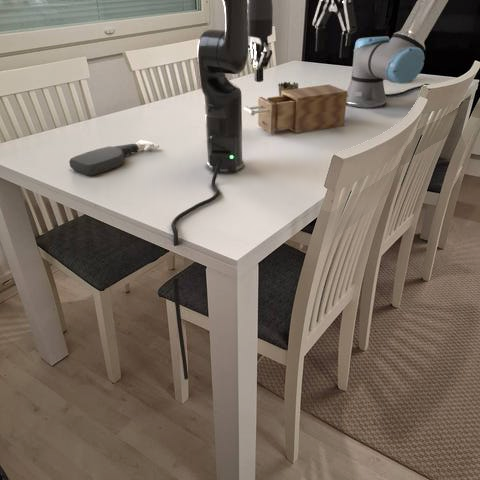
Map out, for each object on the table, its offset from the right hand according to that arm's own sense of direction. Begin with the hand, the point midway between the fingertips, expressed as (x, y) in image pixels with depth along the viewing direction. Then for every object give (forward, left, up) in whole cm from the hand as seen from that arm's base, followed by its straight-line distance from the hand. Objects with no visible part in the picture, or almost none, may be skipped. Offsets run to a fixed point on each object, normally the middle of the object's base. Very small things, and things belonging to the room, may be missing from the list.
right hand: (331, 54), depth 139 cm
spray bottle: (+65, -27, -22) cm, 73 cm away
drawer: (+16, -7, -21) cm, 27 cm away
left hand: (+23, -11, -6) cm, 26 cm away
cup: (-8, -22, -22) cm, 32 cm away
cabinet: (+5, -2, -22) cm, 22 cm away
